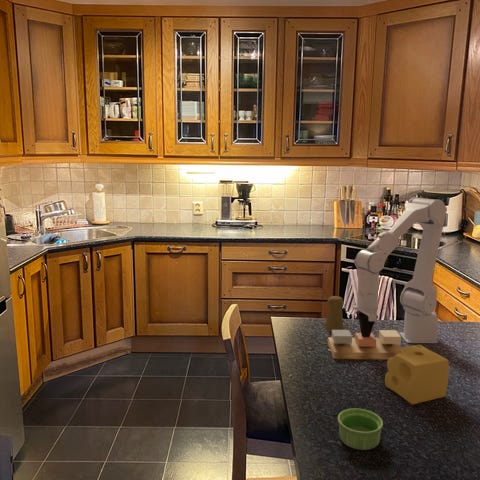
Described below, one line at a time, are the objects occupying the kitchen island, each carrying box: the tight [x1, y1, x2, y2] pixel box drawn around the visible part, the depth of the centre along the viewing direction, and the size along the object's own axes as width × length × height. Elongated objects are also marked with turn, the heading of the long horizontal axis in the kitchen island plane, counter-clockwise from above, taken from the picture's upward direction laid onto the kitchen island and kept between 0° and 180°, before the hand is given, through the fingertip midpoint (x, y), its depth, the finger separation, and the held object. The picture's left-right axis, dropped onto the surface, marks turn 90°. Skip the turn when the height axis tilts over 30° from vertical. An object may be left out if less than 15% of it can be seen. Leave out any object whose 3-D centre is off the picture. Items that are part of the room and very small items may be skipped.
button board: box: [327, 336, 402, 360], centre depth 142 cm, size 20×11×3 cm, turn 88°
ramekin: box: [337, 407, 384, 451], centre depth 99 cm, size 9×9×4 cm
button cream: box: [378, 329, 402, 345], centre depth 141 cm, size 5×5×2 cm
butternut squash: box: [324, 295, 345, 333], centre depth 159 cm, size 6×6×11 cm
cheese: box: [384, 344, 450, 405], centre depth 118 cm, size 10×11×10 cm
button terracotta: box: [354, 332, 377, 347], centre depth 142 cm, size 5×5×2 cm
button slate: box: [331, 329, 353, 344], centre depth 142 cm, size 5×5×2 cm
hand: (365, 336), depth 141 cm, fingers closed, pressing on button terracotta
